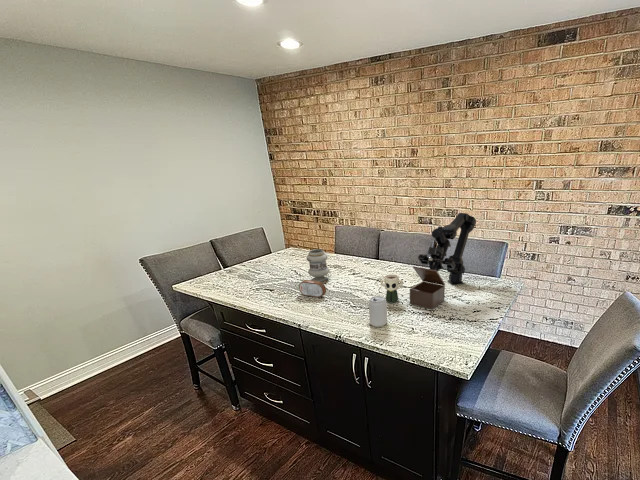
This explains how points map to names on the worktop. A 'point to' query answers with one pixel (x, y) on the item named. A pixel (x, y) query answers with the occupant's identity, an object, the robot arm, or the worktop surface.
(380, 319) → the can
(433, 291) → the box
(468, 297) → the worktop surface
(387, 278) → the character mug
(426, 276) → the chest lid
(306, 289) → the tin
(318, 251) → the apothecary jar
